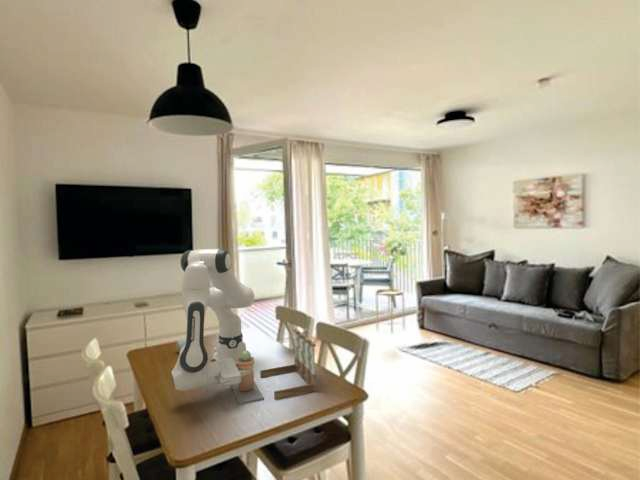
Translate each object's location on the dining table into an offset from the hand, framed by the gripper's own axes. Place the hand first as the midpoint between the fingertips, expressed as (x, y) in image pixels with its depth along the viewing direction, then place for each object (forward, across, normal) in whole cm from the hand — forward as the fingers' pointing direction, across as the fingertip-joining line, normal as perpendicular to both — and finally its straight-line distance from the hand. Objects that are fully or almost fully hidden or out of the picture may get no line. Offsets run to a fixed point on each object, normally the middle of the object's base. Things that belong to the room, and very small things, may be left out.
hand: (247, 367), depth 156 cm
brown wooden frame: (+17, 0, +10) cm, 20 cm away
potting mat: (-1, 0, +10) cm, 10 cm away
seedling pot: (-1, 0, +8) cm, 8 cm away
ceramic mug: (-22, +62, +11) cm, 66 cm away
